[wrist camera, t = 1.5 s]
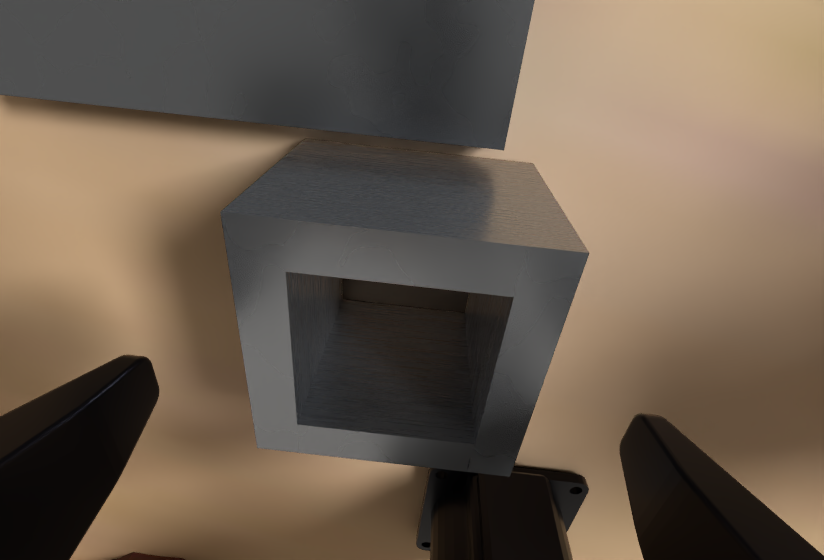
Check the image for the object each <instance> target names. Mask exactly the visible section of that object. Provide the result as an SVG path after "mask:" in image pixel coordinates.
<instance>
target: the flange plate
mask: <svg viewBox="0 0 824 560" xmlns="http://www.w3.org/2000/svg"><path fill="white" fill-rule="evenodd" d="M534 1H535V0H0V95H9V96H18V97H27V98H36V99H45V100H54V101H63V102H72V103H81V104H90V105H99V106H108V107H118V108H127V109H136V110H145V111H154V112H163V113H172V114H181V115H190V116H199V117H208V118H217V119H226V120H235V121H244V122H253V123H262V124H271V125H280V126H290V127H299V128H308V129H317V130H326V131H335V132H344V133H353V134H362V135H371V136H380V137H389V138H398V139H407V140H416V141H425V142H434V143H443V144H452V145H462V146H471V147H480V148H489V149H498V150H504V147H505V142H506V137H507V132H508V127H509V123H510V118H511V113H512V108H513V103H514V98H515V93H516V88H517V83H518V79H519V74H520V69H521V64H522V59H523V54H524V49H525V44H526V40H527V35H528V30H529V25H530V20H531V15H532V10H533V5H534Z"/></svg>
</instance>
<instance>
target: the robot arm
mask: <svg viewBox="0 0 824 560" xmlns="http://www.w3.org/2000/svg"><path fill="white" fill-rule="evenodd" d="M158 397H159V386H158V382H157V379H156V376H155V373H154V369H153V366H152V363H151V361H150V360H149V359H148V358H147V357H144V356H135V355H123V356H120V357H118V358H116V359H114V360H112V361H110V362H108V363H106V364H104V365H102V366H100V367H98V368H96V369H94V370H92V371H90V372H88V373H86V374H84V375H82V376H80V377H78V378H76V379H74V380H72V381H70V382H68V383H66V384H64V385H62V386H60V387H58V388H56V389H54V390H52V391H50V392H48V393H46V394H44V395H42V396H40V397H38V398H36V399H34V400H32V401H30V402H28V403H26V404H24V405H22V406H20V407H18V408H16V409H14V410H12V411H10V412H8V413H6V414H4V415H2V416H0V560H70V558H71V556H72V555H73V553H74V551H75V550H76V548H77V547H78V545H79V543H80V542H81V540H82V538H83V537H84V535H85V534H86V532H87V530H88V529H89V527H90V525H91V524H92V522H93V521H94V519H95V517H96V516H97V514H98V512H99V511H100V509H101V508H102V506H103V504H104V503H105V501H106V499H107V498H108V496H109V495H110V493H111V491H112V490H113V488H114V486H115V484H116V483H117V481H118V479H119V478H120V476H121V474H122V472H123V470H124V468H125V466H126V464H127V462H128V460H129V458H130V456H131V454H132V452H133V450H134V448H135V446H136V444H137V442H138V440H139V437H140V435H141V433H142V431H143V429H144V427H145V425H146V423H147V421H148V419H149V417H150V415H151V413H152V411H153V409H154V407H155V405H156V403H157V400H158ZM620 457H621V462H622V467H623V472H624V477H625V481H626V486H627V491H628V496H629V501H630V506H631V510H632V515H633V520H634V525H635V529H636V533H637V537H638V541H639V545H640V548H641V552H642V555H643V558H644V560H824V556H823V555H822V554H821V553H820V552H819V551H818V550H816V549H815V548H814V547H813V546H812V545H811V544H809V543H808V542H807V541H806V540H805V539H804V538H802V537H801V536H800V535H799V534H798V533H797V532H796V531H794V530H793V529H792V528H791V527H790V526H789V525H787V524H786V523H785V522H784V521H783V520H782V519H781V518H779V517H778V516H777V515H776V514H775V513H774V512H772V511H771V510H770V509H769V508H768V507H767V506H765V505H764V504H763V503H762V502H761V501H760V500H759V499H757V498H756V497H755V496H754V495H753V494H752V493H750V492H749V491H748V490H747V489H746V488H745V487H744V486H742V485H741V484H740V483H739V482H738V481H737V480H735V479H734V478H733V477H732V476H731V475H730V474H728V473H727V472H726V471H725V470H724V469H723V468H722V467H720V466H719V465H718V464H717V463H716V462H715V461H713V460H712V459H711V458H710V457H709V456H708V455H707V454H705V453H704V452H703V451H702V450H701V449H700V448H698V447H697V446H696V445H695V444H694V443H693V442H691V441H690V440H689V439H688V438H687V437H686V436H685V435H683V434H682V433H681V432H680V431H679V430H678V429H676V428H675V427H674V426H673V425H672V424H671V423H670V422H668V421H667V420H666V419H665V418H663V417H661V416H658V415H651V414H642V413H640V414H637V415H636V416H634V418H633V420H632V422H631V423H630V425H629V427H628V429H627V431H626V433H625V435H624V436H623V438H622V440H621V443H620ZM588 490H589V488H588V485H587V482H586V479H585V477H583V476H582V475H578V474H571V473H562V472H553V471H544V470H535V469H527V468H518V467H513V469H512V472H511V475H510V477H508V476H499V475H490V474H482V473H473V472H464V471H455V470H446V469H438V468H429V472H428V478H427V483H426V488H425V494H424V499H423V504H422V510H421V515H420V521H419V526H418V531H417V541H416V544H417V547H418V548H420V549H422V550H428V551H430V560H573V558H572V554H571V549H570V545H569V541H568V537H567V531H568V529H569V527H570V525H571V523H572V521H573V520H574V518H575V516H576V514H577V512H578V510H579V508H580V506H581V505H582V503H583V501H584V499H585V497H586V495H587V493H588Z"/></svg>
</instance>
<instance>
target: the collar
mask: <svg viewBox="0 0 824 560" xmlns="http://www.w3.org/2000/svg"><path fill="white" fill-rule="evenodd" d="M220 213H221V220H222V226H223V232H224V239H225V245H226V252H227V258H228V264H229V271H230V277H231V283H232V290H233V296H234V302H235V309H236V315H237V322H238V328H239V334H240V341H241V347H242V353H243V360H244V366H245V373H246V379H247V385H248V392H249V398H250V404H251V411H252V417H253V424H254V430H255V436H256V443H257V448H262V449H271V450H280V451H289V452H297V453H306V454H315V455H324V456H333V457H341V458H350V459H359V460H368V461H376V462H385V463H394V464H403V465H411V466H420V467H429V468H438V469H446V470H455V471H464V472H473V473H482V474H490V475H499V476H508V477H510V475H511V472H512V469H513V466H514V463H515V461H516V458H517V455H518V452H519V449H520V447H521V444H522V441H523V438H524V435H525V433H526V430H527V427H528V424H529V421H530V418H531V416H532V413H533V410H534V407H535V404H536V402H537V399H538V396H539V393H540V390H541V388H542V385H543V382H544V379H545V376H546V373H547V371H548V368H549V365H550V362H551V359H552V357H553V354H554V351H555V348H556V345H557V343H558V340H559V337H560V334H561V331H562V328H563V326H564V323H565V320H566V317H567V314H568V312H569V309H570V306H571V303H572V300H573V298H574V295H575V292H576V289H577V286H578V283H579V281H580V278H581V275H582V272H583V269H584V267H585V264H586V261H587V258H588V255H589V252H588V250H587V249H586V247H585V245H584V244H583V242H582V241H581V239H580V237H579V236H578V234H577V233H576V231H575V229H574V228H573V226H572V225H571V223H570V221H569V220H568V218H567V217H566V215H565V213H564V212H563V210H562V209H561V207H560V205H559V204H558V202H557V201H556V199H555V198H554V196H553V194H552V193H551V191H550V190H549V188H548V186H547V185H546V183H545V182H544V180H543V178H542V177H541V175H540V174H539V172H538V170H537V169H536V167H535V166H534V164H533V163H524V162H515V161H506V160H497V159H488V158H479V157H470V156H461V155H451V154H442V153H433V152H424V151H415V150H406V149H397V148H388V147H379V146H370V145H361V144H352V143H343V142H334V141H325V140H316V139H307V138H305V139H304V140H303V141H302V142H301V143H300V144H298V145H297V146H296V147H295V148H294V149H293V150H292V151H290V152H289V153H288V154H287V155H286V156H285V157H283V158H282V159H281V160H280V161H279V162H278V163H276V164H275V165H274V166H273V167H272V168H271V169H269V170H268V171H267V172H266V173H265V174H264V175H263V176H261V177H260V178H259V179H258V180H257V181H256V182H254V183H253V184H252V185H251V186H250V187H249V188H247V189H246V190H245V191H244V192H243V193H242V194H241V195H239V196H238V197H237V198H236V199H235V200H234V201H232V202H231V203H230V204H229V205H228V206H227V207H225V208H224V209H223V210H222V211H221V212H220ZM342 278H346V279H355V280H364V281H373V282H382V283H391V284H400V285H409V286H418V287H427V288H436V289H445V290H453V291H462V292H469V295H468V300H467V305H466V311H465V313H461V312H452V311H443V310H434V309H425V308H416V307H407V306H398V305H389V304H380V303H371V302H363V301H354V300H345V299H342Z"/></svg>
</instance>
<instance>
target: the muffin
mask: <svg viewBox="0 0 824 560" xmlns="http://www.w3.org/2000/svg"><path fill="white" fill-rule="evenodd" d="M113 560H185V559H183V558H175V557H161V556H154V555H148V554H142V553H136V552H133V553H130V554H128V555H126V556H123V557H121V558H117V559H113Z"/></svg>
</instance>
